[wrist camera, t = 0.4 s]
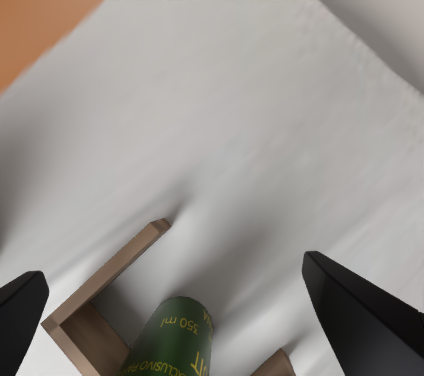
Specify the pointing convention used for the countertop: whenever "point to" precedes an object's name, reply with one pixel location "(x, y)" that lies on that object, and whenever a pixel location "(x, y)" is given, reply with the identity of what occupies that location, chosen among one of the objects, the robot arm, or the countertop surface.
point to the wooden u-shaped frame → (102, 332)
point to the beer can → (172, 342)
